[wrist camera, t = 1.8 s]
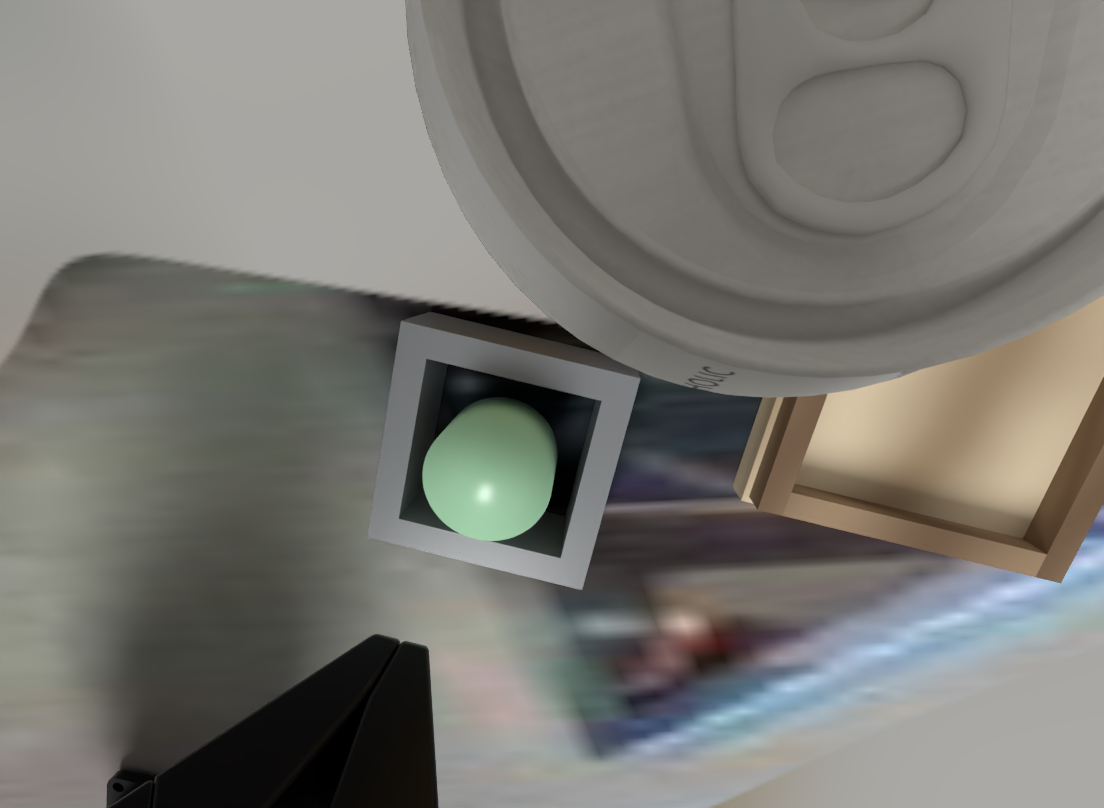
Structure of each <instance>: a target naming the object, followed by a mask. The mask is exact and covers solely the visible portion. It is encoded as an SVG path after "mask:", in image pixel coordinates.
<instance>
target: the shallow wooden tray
mask: <svg viewBox="0 0 1104 808" xmlns="http://www.w3.org/2000/svg"><path fill="white" fill-rule="evenodd" d="M732 487H733V488H734V490H735V492H736V493H737V495H738V496H739V498H740V500H741V501H745V502H749V503H753V504H754V505H755V506H756V508H757V509H758V510H761V511H765V512H769V513H774V514H778V515H782V516H786V517H790V518H794V519H798V520H802V521H807V522H811V523H815V524H819V525H823V526H827V527H831V528H835V529H840V530H844V531H848V532H852V533H856V534H860V535H864V536H868V537H873V538H877V539H881V540H885V541H889V542H893V543H897V544H901V545H906V546H910V547H914V548H918V549H922V550H926V551H930V552H934V553H939V554H943V555H947V556H951V557H955V558H959V559H963V560H967V561H972V562H976V563H980V564H984V565H988V566H992V567H996V568H1000V569H1005V570H1009V571H1013V572H1017V573H1021V574H1025V575H1029V576H1034V577H1038V578H1042V579H1046V580H1050V581H1054V582H1058V583H1061V582H1062V580H1063V578H1064V576H1065V574H1066V573H1067V571H1068V569H1069V567H1070V565H1071V563H1072V561H1073V559H1074V557H1075V556H1076V554H1077V552H1078V550H1079V548H1080V546H1081V544H1082V542H1083V540H1084V539H1085V537H1086V535H1087V533H1088V531H1089V529H1090V527H1091V525H1092V523H1093V522H1094V520H1095V518H1096V516H1097V514H1098V512H1099V510H1100V508H1101V506H1102V505H1103V503H1104V295H1103V296H1101V297H1099V298H1098V299H1096V300H1095V301H1093V302H1091V303H1090V304H1088V305H1086V306H1085V307H1083V308H1081V309H1080V310H1078V311H1076V312H1075V313H1073V314H1071V315H1069V316H1067V317H1064V318H1062V319H1060V320H1058V321H1056V322H1054V323H1052V324H1050V325H1048V326H1046V327H1044V328H1042V329H1040V330H1038V331H1036V332H1034V333H1032V334H1029V335H1027V336H1025V337H1023V338H1020V339H1017V340H1015V341H1012V342H1009V343H1007V344H1004V345H1001V346H999V347H996V348H993V349H990V350H988V351H985V352H982V353H980V354H977V355H974V356H970V357H966V358H962V359H959V360H955V361H951V362H947V363H943V364H939V365H936V366H932V367H928V368H924V369H921V370H918V371H916V372H913V373H910V374H908V375H905V376H902V377H900V378H897V379H893V380H889V381H885V382H882V383H878V384H874V385H870V386H866V387H862V388H858V389H855V390H848V391H842V392H835V393H828V394H822V395H815V396H800V397H775V398H766V397H763V398H762V401H761V404H760V406H759V409H758V412H757V415H756V418H755V421H754V424H753V427H752V430H751V433H750V436H749V439H748V442H747V445H746V448H745V451H744V454H743V457H742V460H741V463H740V466H739V468H738V471H737V474H736V477H735V480H734V483H733V486H732Z"/></svg>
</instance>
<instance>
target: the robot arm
mask: <svg viewBox="0 0 1104 808" xmlns="http://www.w3.org/2000/svg"><path fill="white" fill-rule="evenodd" d="M106 808H438V792H437V776H436V760H435V744H434V728H433V712H432V696H431V680H430V664H429V650H428V648H427V647H426V646H424V645H420V644H416V643H412V642H408V641H404V642H402V643H401V644H400V641H399V640H398V639H396V638H392V637H388V636H384V635H380V634H375V635H372V636H370V637H369V638H367V639H366V640H364V641H363V642H361V643H359V644H358V645H356V646H355V647H353V648H352V649H350V650H349V651H347V652H346V653H344V654H343V655H341V656H340V657H338V658H336V659H335V660H333V661H332V662H330V663H329V664H327V665H326V666H324V667H323V668H321V669H320V670H318V671H317V672H315V673H313V674H312V675H310V676H309V677H307V678H306V679H304V680H303V681H301V682H300V683H298V684H297V685H295V686H293V687H292V688H290V689H289V690H287V691H286V692H284V693H283V694H281V695H280V696H278V697H277V698H275V699H274V700H272V701H270V702H269V703H267V704H266V705H264V706H263V707H261V708H260V709H258V710H257V711H255V712H254V713H252V714H251V715H249V716H247V717H246V718H244V719H243V720H241V721H240V722H238V723H237V724H235V725H234V726H232V727H231V728H229V729H228V730H226V731H224V732H223V733H221V734H220V735H218V736H217V737H215V738H214V739H212V740H211V741H209V742H208V743H206V744H205V745H203V746H201V747H200V748H198V749H197V750H195V751H194V752H192V753H191V754H189V755H188V756H186V757H185V758H183V759H181V760H180V761H178V762H177V763H175V764H174V765H172V766H171V767H169V768H168V769H166V770H165V771H163V772H162V773H160V774H158V775H157V776H156V777H155V778H154V777H150V776H146V775H142V774H138V773H134V772H130V771H126V770H120V771H118V772H117V773H116V774H115V775H114V776H113V777H112V778H111V779H110V780H109V781H108V783H107V807H106Z"/></svg>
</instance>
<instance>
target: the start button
mask: <svg viewBox="0 0 1104 808" xmlns="http://www.w3.org/2000/svg"><path fill="white" fill-rule="evenodd" d="M557 459H558V449H557V443H556V438H555V436H554V433H553V431H552V429H551V427H550V425H549V424H548V422H547V421H546V420H545V418H544V417H543V416H542V415H541V414H540V413H539V412H538V411H536V410H535V409H534V408H533V407H531V406H529V405H528V404H526V403H524V402H521V401H519V400H516V399H512V398H506V397H491V398H486V399H482V400H479V401H476V402H474V403H472V404H470V405H468V406H467V407H466V408H464V409H463V410H462V411H461V412H460V413H459V414H458V415H457V416H456V417H455V418H454V419H453V420H452V421H451V423H450V424H449V425H448V426H447V427H446V428H445V429H444V431H443V432H442V433H441V434H440V435H439V436H438V437H437V439H436V440H435V441H434V442H433V444H432V445H431V447H430V449H429V450H428V452H427V455H426V457H425V461H424V465H423V472H422V479H423V487H424V492H425V495H426V498H427V500H428V502H429V504H430V506H431V508H432V509H433V511H434V512H435V514H436V515H437V516H438V517H439V518H440V519H441V520H442V521H443V522H444V523H445V524H446V525H447V526H448V527H450V528H451V529H453V530H454V531H456V532H458V533H460V534H462V535H464V536H466V537H470V538H473V539H477V540H483V541H499V540H505V539H509V538H512V537H515V536H517V535H520V534H522V533H523V532H525V531H527V530H528V529H530V528H531V527H532V526H533V525H534V524H535V523H536V522H537V521H538V520H539V519H540V518H541V516H542V515H543V513H544V512H545V510H546V508H547V506H548V504H549V501H550V498H551V493H552V487H553V482H554V476H555V470H556V465H557Z"/></svg>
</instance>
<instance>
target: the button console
mask: <svg viewBox="0 0 1104 808" xmlns="http://www.w3.org/2000/svg"><path fill="white" fill-rule="evenodd" d="M448 364H451V365H455V366H459V367H463V368H467V369H471V370H475V371H480V372H484V373H488V374H492V375H496V376H500V377H505V378H509V379H513V380H517V381H521V382H525V383H529V384H534V385H538V386H542V387H546V388H550V389H554V390H558V391H563V392H567V393H571V394H575V395H579V396H583V397H588V398H592V399H595V403H594V407H593V411H592V414H591V418H590V422H589V426H588V430H587V434H586V438H585V441H584V445H583V449H582V453H581V457H580V461H579V465H578V469H577V472H576V476H575V480H574V484H573V488H572V492H571V496H570V500H569V503H568V507H567V511H566V515H565V516H563V515H559V514H555V513H550V512H546V511H545V512H544V513H543V515H542V516H541V518H540V519H539V520H538V521H537V522H536V523H535V524H534V525H533V526H532V527H531V528H530V529H528V530H527V531H525V532H523V533H522V534H520V535H517V536H515V537H512V538H509V539H505V540H499V541H483V540H477V539H473V538H470V537H466V536H464V535H462V534H460V533H458V532H456V531H454V530H453V529H451V528H450V527H448V526H447V525H446V524H445V523H444V522H443V521H442V520H441V519H440V518H439V517H438V516H437V515H436V514H435V512H434V511H433V509H432V508H431V506H430V504H429V502H428V500H427V498H426V495H425V492H424V487H423V479H422V472H423V465H424V461H425V457H426V455H427V452H428V450H429V449H430V447H431V445H432V444H433V442H434V437H435V432H436V427H437V421H438V416H439V410H440V405H441V399H442V394H443V389H444V383H445V378H446V372H447V367H448ZM640 379H641V378H640V376H639V373H638V371H637V370H636V369H634V368H632V367H629V366H627V365H625V364H622V363H620V362H618V361H616V360H613V359H612V358H610V357H608V356H607V355H605V354H603V353H600V352H596V351H592V350H588V349H584V348H579V347H575V346H571V345H567V344H563V343H559V342H554V341H550V340H546V339H542V338H538V337H534V336H529V335H525V334H521V333H517V332H513V331H509V330H504V329H500V328H496V327H492V326H488V325H484V324H479V323H475V322H471V321H467V320H463V319H459V318H454V317H450V316H446V315H442V314H438V313H434V312H428V313H425V314H422V315H419V316H415V317H412V318H409V319H406V320H402V321H401V324H400V331H399V337H398V343H397V350H396V356H395V362H394V368H393V375H392V381H391V387H390V394H389V400H388V406H387V413H386V419H385V425H384V431H383V438H382V444H381V450H380V457H379V463H378V469H377V476H376V482H375V488H374V495H373V501H372V507H371V513H370V520H369V526H368V532H367V538H371V539H375V540H380V541H384V542H388V543H392V544H396V545H400V546H404V547H408V548H412V549H416V550H420V551H424V552H429V553H433V554H437V555H441V556H445V557H449V558H453V559H457V560H461V561H465V562H469V563H473V564H478V565H482V566H486V567H490V568H494V569H498V570H502V571H506V572H510V573H514V574H518V575H522V576H527V577H531V578H535V579H539V580H543V581H547V582H551V583H555V584H559V585H563V586H567V587H571V588H576V589H580V590H582V588H583V584H584V581H585V577H586V573H587V570H588V566H589V563H590V559H591V555H592V552H593V548H594V545H595V541H596V537H597V534H598V530H599V527H600V523H601V519H602V516H603V512H604V509H605V505H606V501H607V498H608V494H609V491H610V487H611V483H612V480H613V476H614V472H615V469H616V465H617V462H618V458H619V454H620V451H621V447H622V444H623V440H624V436H625V433H626V429H627V426H628V422H629V418H630V415H631V411H632V408H633V404H634V400H635V397H636V393H637V390H638V386H639V382H640Z"/></svg>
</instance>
